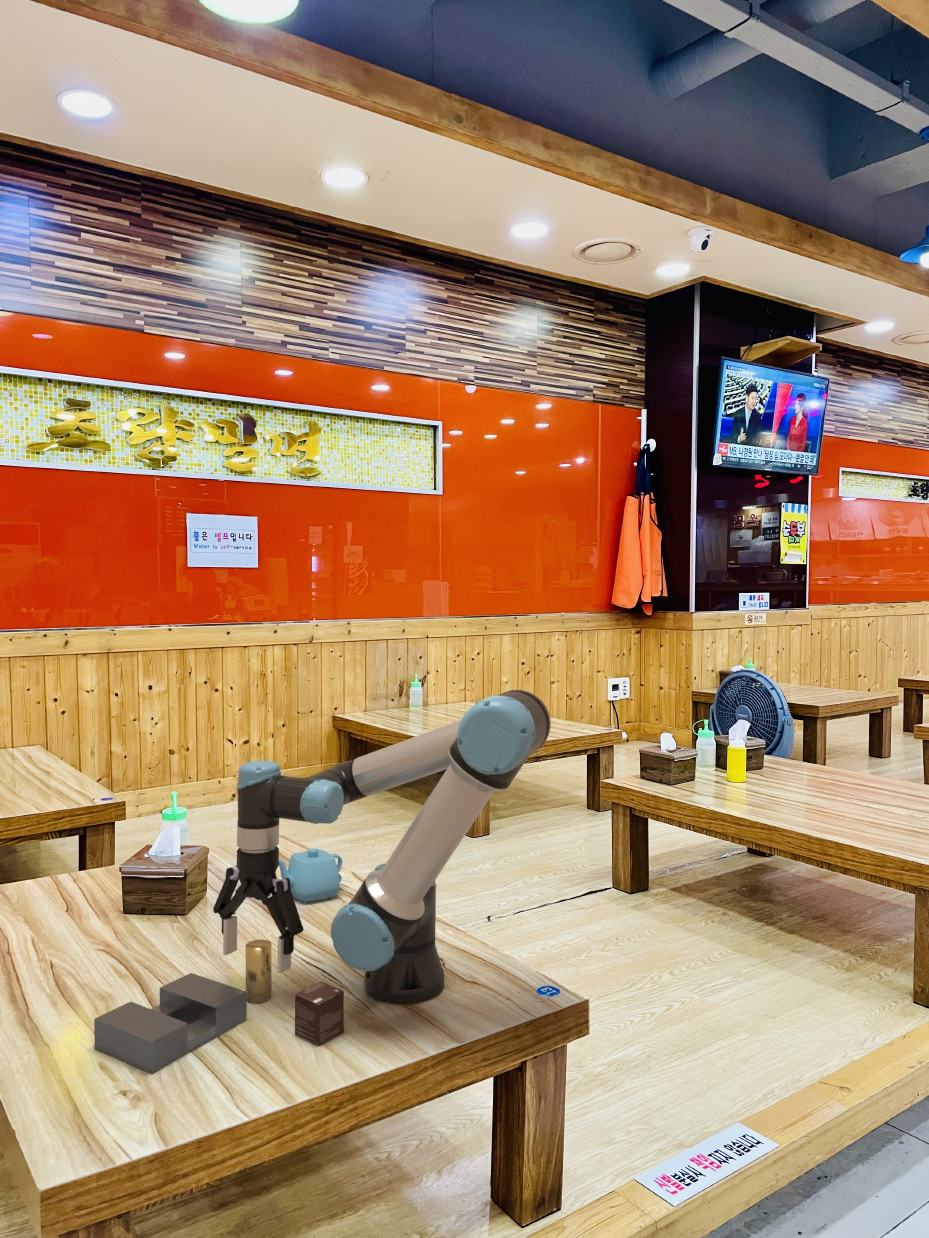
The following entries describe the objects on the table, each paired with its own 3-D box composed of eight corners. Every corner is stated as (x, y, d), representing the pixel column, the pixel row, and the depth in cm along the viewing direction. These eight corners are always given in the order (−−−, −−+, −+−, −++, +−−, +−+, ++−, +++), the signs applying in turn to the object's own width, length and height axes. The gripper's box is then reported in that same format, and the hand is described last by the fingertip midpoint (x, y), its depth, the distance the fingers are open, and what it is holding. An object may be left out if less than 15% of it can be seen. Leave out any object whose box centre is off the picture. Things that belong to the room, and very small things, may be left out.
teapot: (263, 895, 213) (263, 849, 213) (332, 883, 223) (332, 838, 222) (280, 911, 203) (280, 863, 202) (351, 897, 212) (352, 851, 212)
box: (321, 1021, 151) (321, 980, 151) (345, 1033, 147) (345, 990, 147) (293, 1035, 147) (293, 992, 146) (317, 1047, 143) (317, 1003, 143)
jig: (246, 1019, 152) (246, 991, 152) (151, 1073, 135) (151, 1042, 134) (191, 999, 159) (190, 972, 159) (94, 1048, 142) (94, 1018, 142)
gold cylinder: (276, 996, 161) (276, 942, 160) (258, 1006, 157) (258, 951, 156) (258, 990, 163) (258, 937, 163) (240, 1000, 159) (240, 946, 159)
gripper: (324, 854, 156) (322, 970, 156) (225, 830, 169) (223, 938, 169) (295, 865, 149) (293, 986, 150) (194, 840, 162) (193, 952, 163)
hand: (256, 961), depth 160 cm, fingers open, 13 cm apart
